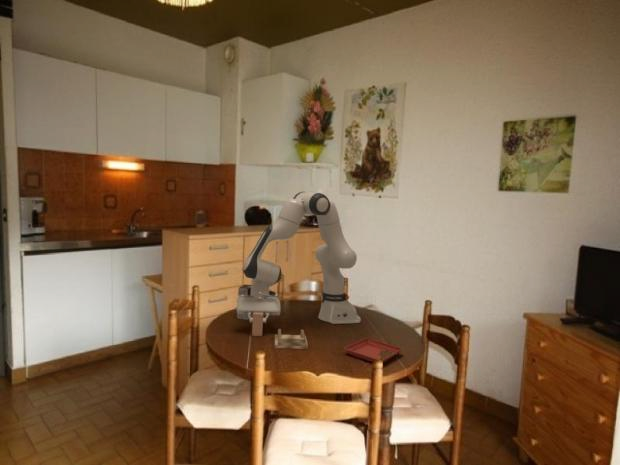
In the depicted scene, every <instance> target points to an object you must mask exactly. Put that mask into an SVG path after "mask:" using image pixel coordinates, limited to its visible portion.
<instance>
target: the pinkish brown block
mask: <svg viewBox="0 0 620 465" xmlns="http://www.w3.org/2000/svg"><path fill="white" fill-rule="evenodd" d="M252 318H253V323H252V328H251V329H252V330H251V336H252V337H263V330H264V329H263V327H264V326H263V325H264V323H263V318H264V315H263V312H253V316H252Z"/></svg>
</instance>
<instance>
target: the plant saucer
mask: <svg viewBox="0 0 620 465" xmlns="http://www.w3.org/2000/svg"><path fill="white" fill-rule="evenodd" d="M382 349H383V350H384V351H385V350H387V351H391V352H395V353H394V354H392V355H390V356H388V357H387V358H385V359H383V360H382V361H383V362H384V363H386V362H388V361H389V360H391V359H392V357H393V358H395V357H396V356H398V354H400V353H401V351H403V348H402V347H398V346H395V345H391V344H389V343H385V342H382V341H378V340H376V339H371V338H368V337H365V338H363V339H360V340H358V341H356V342H354V343H351V344H349V345H347V346H345V347H344V350H345V351H346V353H347V354H348V355H349V354H350V356H352V355H353V356H352V357H355V358H358V359H360V358H361V360H363V359H364V361H366V360H367V361H366V362H369V361H371V362H370V363H372V362H373V361H375V360H379V359H381V356H380V355H378V354H380V351H381V350H382ZM383 350H382V351H383ZM395 355H396V356H395ZM394 356H395V357H394ZM390 358H391V359H390ZM388 359H389V360H388ZM387 360H388V361H387ZM385 361H386V362H385Z"/></svg>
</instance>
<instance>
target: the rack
mask: <svg viewBox="0 0 620 465" xmlns="http://www.w3.org/2000/svg"><path fill="white" fill-rule="evenodd" d="M308 345H309V344H308V340H307V335H306V334H305V330H304V329H300V334H282V329H281V328H277V334H274V349H297V350H305V349H306V350H309V346H308Z"/></svg>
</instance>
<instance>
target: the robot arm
mask: <svg viewBox="0 0 620 465" xmlns="http://www.w3.org/2000/svg"><path fill="white" fill-rule="evenodd" d="M335 204H336V203H335V202H334V201H333V200H330V199H329V198H328V197H327V195H325V194H324V193H321V192H315V191H299V192H298V193H296V194H295V196H294V197H293V198H288V199H287V200H286V201H285V202H284V204H283V205H282V207H281V209H280V210H279V213H278V216H277V218H276V220H275V222H274V223H273V224H272V225H268V226H267V227H266V228H265V229H264V231H263V233H262V234H261V235H260V236H259V238H258V240H257V242H256V243H255V246H254V248H253V249H252V250H251V253H250V254H249V255H248V256H247V258H246V259H245V261H244V263H243V265H242V273H243V274H244V276H245V277H246V278H249V279H251V285H252V287H251V293H250V295H241V296H239V297H238V296H237V298H236V302H237V303H236V309H235V310H236V314H237V313H238V314H248V317H249V323H250V324H253V317H251V314H253V312H263V316H265V317H263V324H266V323H267V320H268V319H269V318H270V317H269V316H280V314H281V308H282V307H281V301H280V299H279V293H278V291H273V290H271V289H270V287H272V286H274V285H276V284H277V283H279V282H280V280H281V279H282V273H283V272H282V268H281V266H280V265H278V264H277V263H273V262H271V261H268V260H265V259H262V258H261V257H262V255H263V253H264V252H265V250H266V248H268V247H267V246H268V245H269V243H271V242H272V241H280V240H283V241H284V240H288V239H291V238H293V237H294V236H296V234H297V233H298V230H299V227H300V225H301V222H302V218H303V217H304V216H305V215H313V216H314V215H315V216H316V219H317V220H316V221H317V224H318V229H319V234H320V238H321V239H322V241H323V242H324V243H325V244H320V245H319V246H318V247H316V250H315V258H316V260H317V262H318V263H319V265H320V267H321V271H322V277H323V279H322V291H321V295H320V296H321V298H320V300H321V305H320V310H319V312H318V315H317V319H318V320H321V321H323V322H327V323H330V324H334V325H335V324H339V325H340V324H360V323H361V322H362V318H361V317H360V316H359V315H358V313H357V308H356V307H355V306H354V305H353V303H351V302H350V301H349V299H350V296H349V295H348V293H345V276H343V274H342V272H341V270H340V269H352V268H353V267H354V266H355V265H356V263H357V260H358V259H357V258H358V257H357V253H356V252H355V251H354V250H353V249H352V248H351V246H350V245H349V244H348V242H347V241H346V240H347V239H346V238H345V237H344V234H343V231H342V230H343V229H342V227H341V222H340V217H339V213H338V209H337V207H336V205H335Z"/></svg>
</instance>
